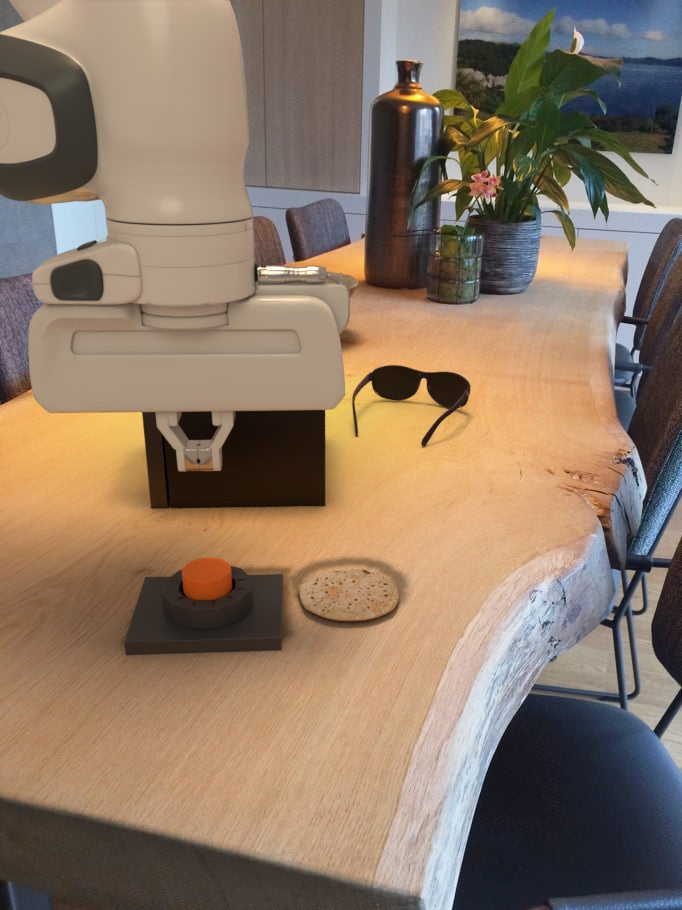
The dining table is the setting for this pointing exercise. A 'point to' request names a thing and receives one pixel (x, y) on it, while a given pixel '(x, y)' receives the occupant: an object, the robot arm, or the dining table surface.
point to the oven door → (155, 462)
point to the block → (207, 617)
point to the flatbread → (349, 595)
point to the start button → (207, 579)
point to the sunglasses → (405, 384)
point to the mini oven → (254, 461)
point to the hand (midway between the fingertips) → (200, 468)
